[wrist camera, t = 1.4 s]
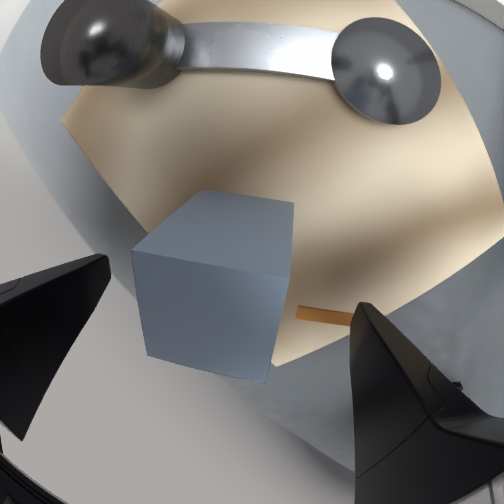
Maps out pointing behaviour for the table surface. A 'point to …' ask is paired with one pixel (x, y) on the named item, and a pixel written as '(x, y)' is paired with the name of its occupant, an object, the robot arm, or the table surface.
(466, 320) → the table surface
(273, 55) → the crank
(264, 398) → the table surface
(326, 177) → the crank plate
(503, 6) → the tray
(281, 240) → the block
